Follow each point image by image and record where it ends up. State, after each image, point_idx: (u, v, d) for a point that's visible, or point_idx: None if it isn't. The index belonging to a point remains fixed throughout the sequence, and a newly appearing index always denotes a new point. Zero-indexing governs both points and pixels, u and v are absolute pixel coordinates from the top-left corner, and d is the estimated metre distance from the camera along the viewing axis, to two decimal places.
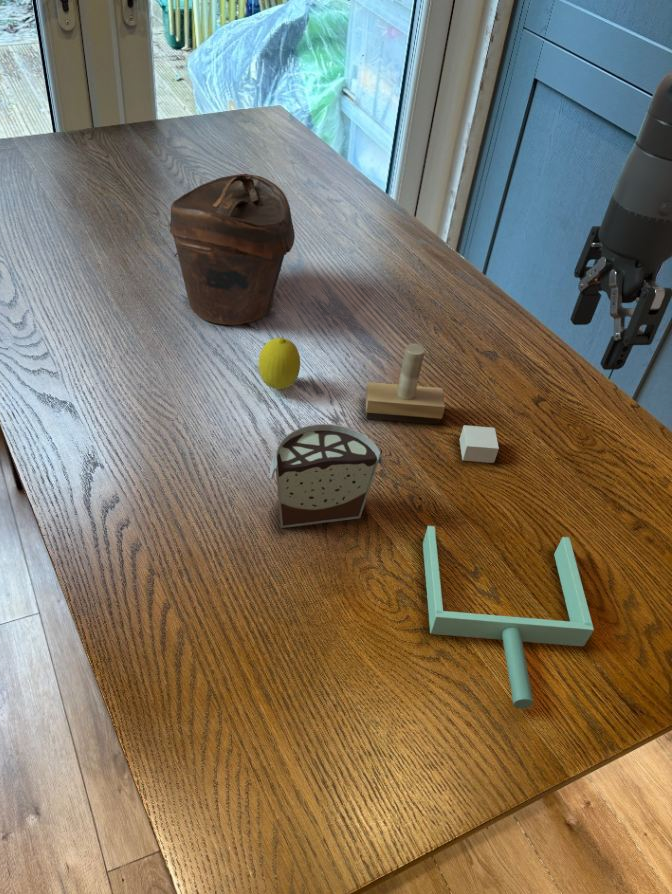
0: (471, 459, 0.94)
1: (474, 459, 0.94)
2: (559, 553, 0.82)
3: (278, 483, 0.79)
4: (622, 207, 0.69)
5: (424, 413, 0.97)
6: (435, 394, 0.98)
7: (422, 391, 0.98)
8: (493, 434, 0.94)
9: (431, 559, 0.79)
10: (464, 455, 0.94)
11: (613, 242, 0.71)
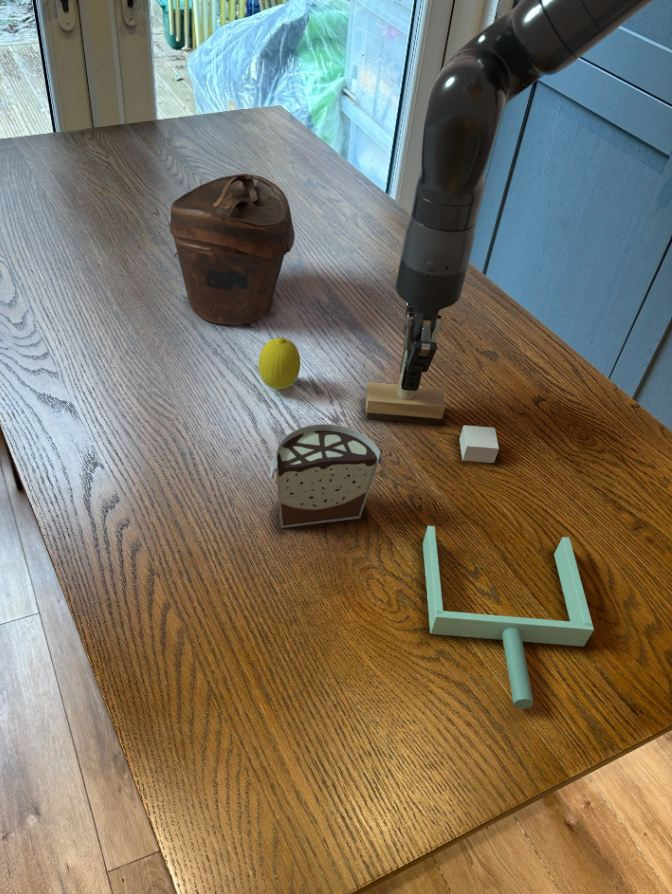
0: (471, 459, 0.94)
1: (474, 459, 0.94)
2: (559, 553, 0.82)
3: (278, 483, 0.79)
4: (403, 261, 0.83)
5: (424, 413, 0.97)
6: (435, 394, 0.98)
7: (422, 391, 0.98)
8: (493, 434, 0.94)
9: (431, 559, 0.79)
10: (464, 455, 0.94)
11: (400, 289, 0.85)
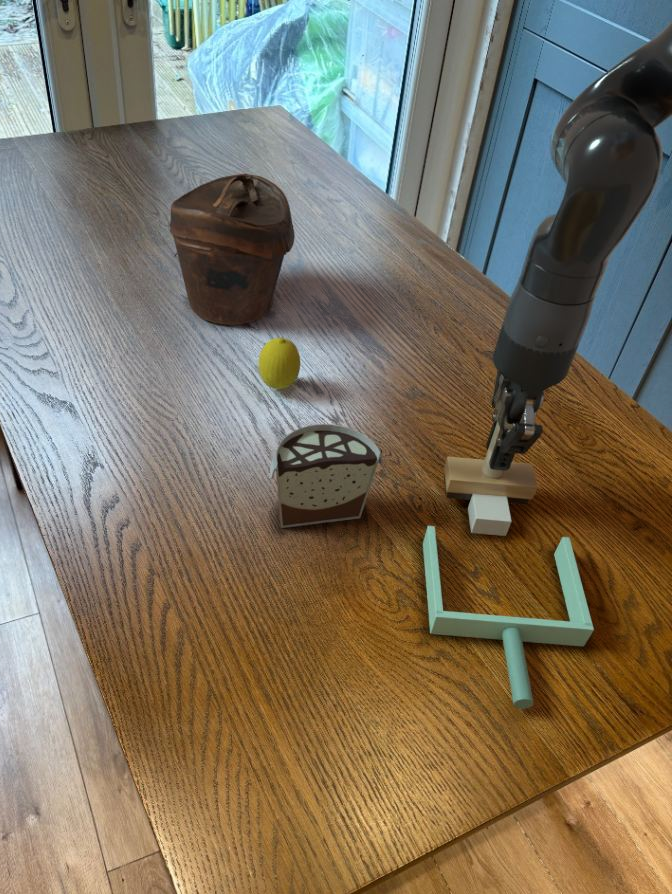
0: (481, 532, 0.85)
1: (484, 532, 0.85)
2: (559, 553, 0.82)
3: (278, 483, 0.79)
4: (506, 334, 0.72)
5: (513, 493, 0.86)
6: (525, 472, 0.87)
7: (510, 468, 0.87)
8: (505, 504, 0.86)
9: (431, 559, 0.79)
10: (473, 527, 0.85)
11: (500, 364, 0.74)
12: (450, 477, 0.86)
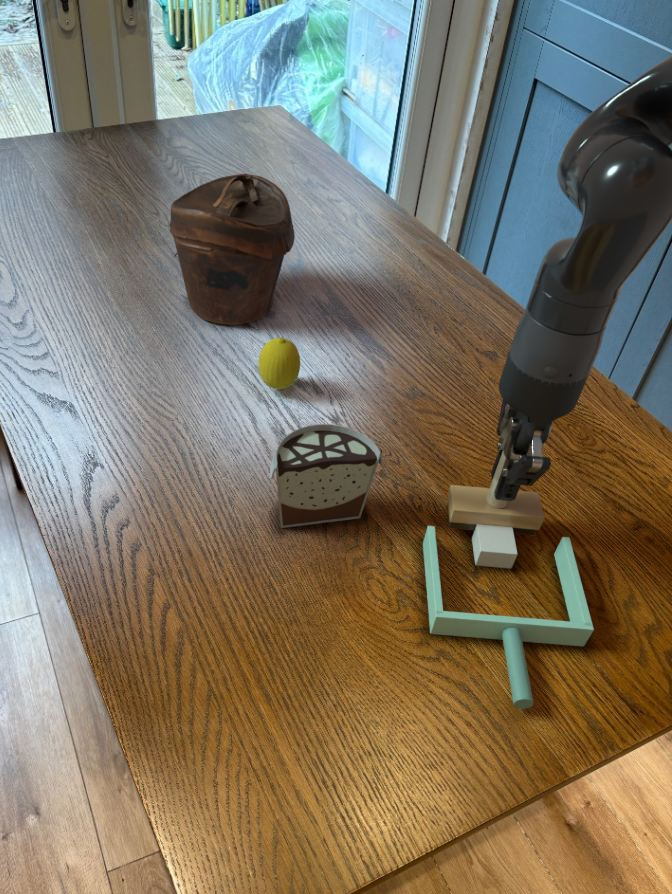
0: (485, 564, 0.82)
1: (489, 564, 0.82)
2: (559, 553, 0.82)
3: (278, 483, 0.79)
4: (513, 363, 0.69)
5: (519, 524, 0.83)
6: (531, 501, 0.84)
7: None
8: (511, 535, 0.82)
9: (431, 559, 0.79)
10: (477, 560, 0.82)
11: (506, 394, 0.71)
12: (453, 507, 0.82)
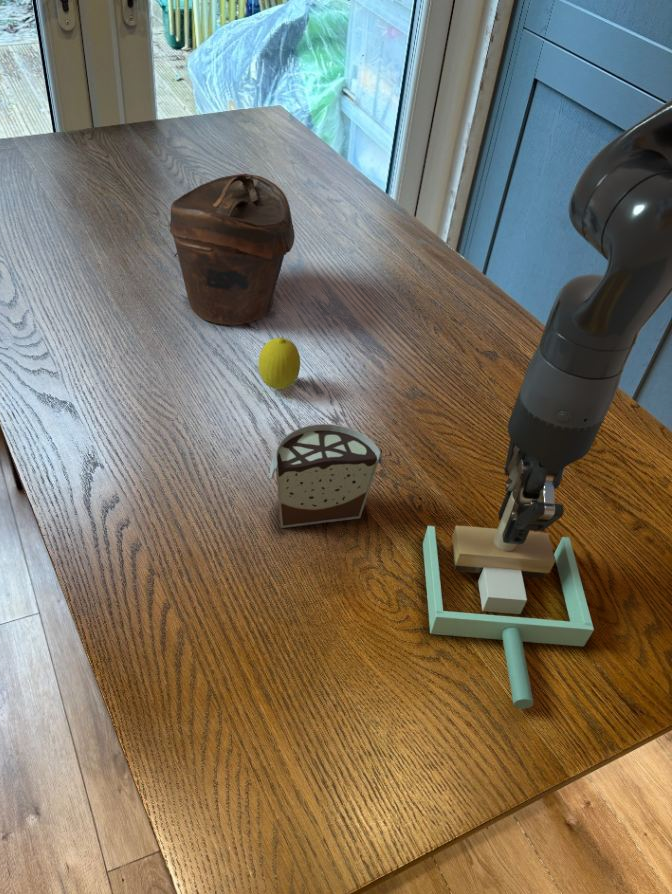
0: (493, 610, 0.78)
1: (496, 610, 0.78)
2: (559, 553, 0.82)
3: (278, 483, 0.79)
4: (523, 405, 0.65)
5: (528, 567, 0.79)
6: (541, 543, 0.79)
7: None
8: (519, 579, 0.78)
9: (431, 559, 0.79)
10: (484, 606, 0.78)
11: (516, 437, 0.67)
12: (459, 550, 0.78)
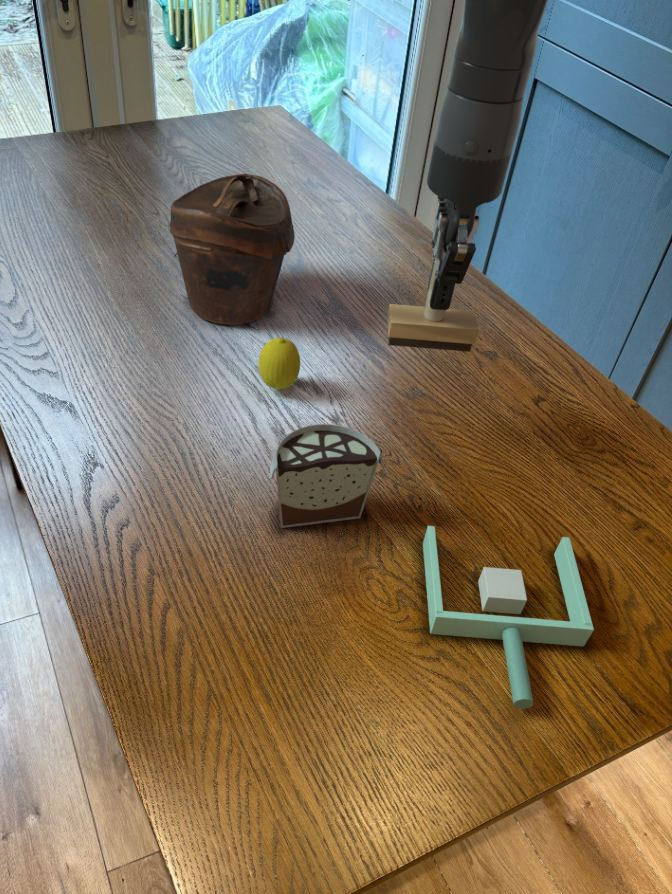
0: (493, 610, 0.78)
1: (497, 610, 0.78)
2: (559, 553, 0.82)
3: (278, 483, 0.79)
4: (437, 147, 0.72)
5: (454, 337, 0.86)
6: (467, 317, 0.87)
7: (452, 313, 0.87)
8: (519, 579, 0.78)
9: (431, 559, 0.79)
10: (485, 606, 0.78)
11: (432, 182, 0.74)
12: (391, 320, 0.85)
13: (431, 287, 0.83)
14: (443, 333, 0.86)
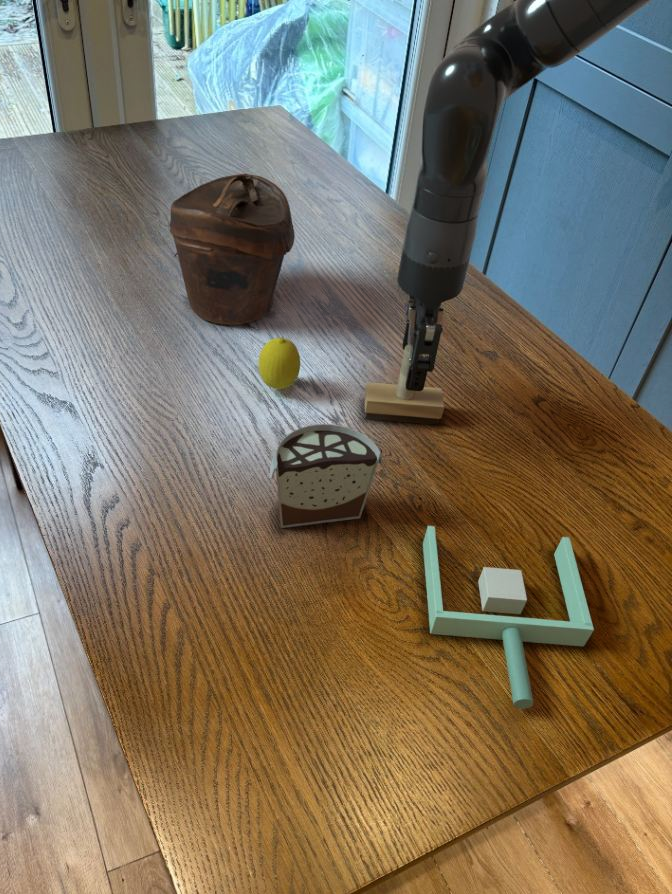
0: (493, 610, 0.78)
1: (497, 610, 0.78)
2: (559, 553, 0.82)
3: (278, 483, 0.79)
4: (404, 253, 0.83)
5: (423, 413, 0.97)
6: (434, 395, 0.98)
7: (421, 391, 0.98)
8: (519, 579, 0.78)
9: (431, 559, 0.79)
10: (485, 606, 0.78)
11: (401, 282, 0.85)
12: (367, 398, 0.97)
13: (402, 371, 0.94)
14: (413, 410, 0.97)
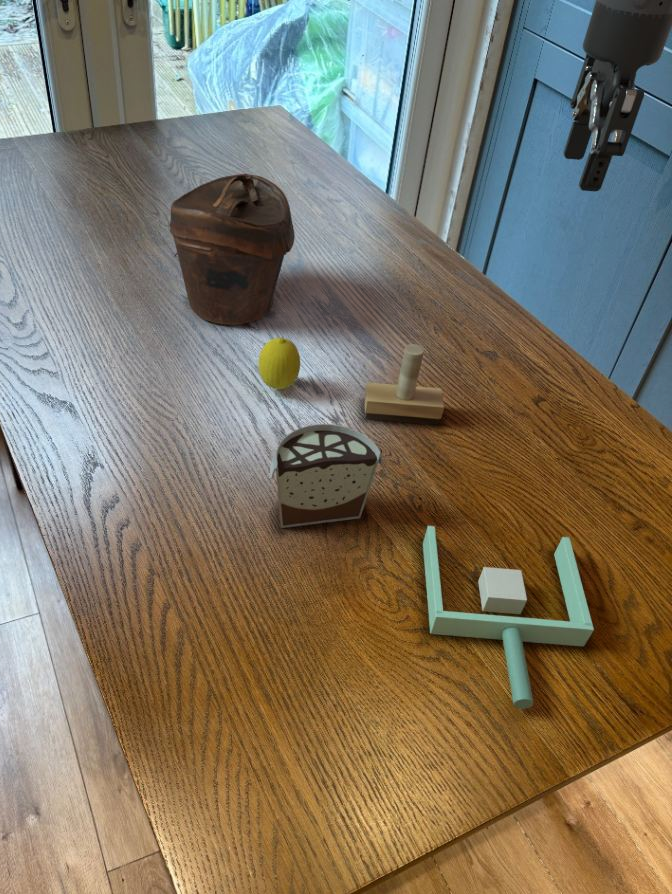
0: (493, 610, 0.78)
1: (497, 610, 0.78)
2: (559, 553, 0.82)
3: (278, 483, 0.79)
4: (601, 4, 0.70)
5: (423, 413, 0.97)
6: (434, 395, 0.98)
7: (421, 391, 0.98)
8: (519, 579, 0.78)
9: (431, 559, 0.79)
10: (485, 606, 0.78)
11: (592, 44, 0.72)
12: (367, 399, 0.97)
13: (402, 371, 0.94)
14: (413, 410, 0.97)
